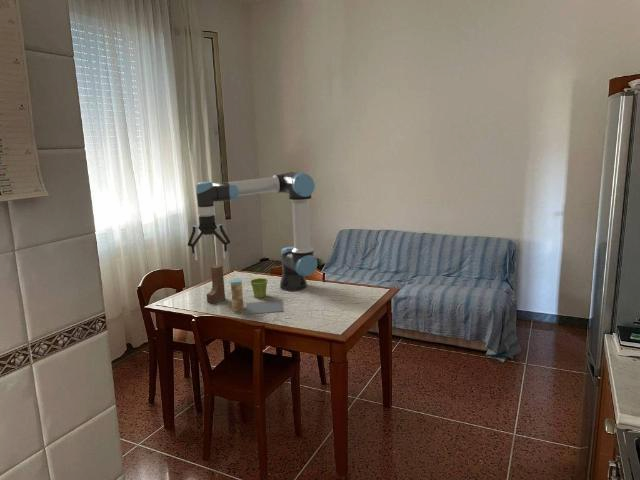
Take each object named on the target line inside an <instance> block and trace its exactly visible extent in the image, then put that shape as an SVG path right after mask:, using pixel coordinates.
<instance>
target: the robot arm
mask: <svg viewBox="0 0 640 480" xmlns="http://www.w3.org/2000/svg"><path fill="white" fill-rule="evenodd" d="M315 186H316V185H315V181H314V179H313V177H312V176H311V175H309V174H307V173H305V172H297V171H296V172H295V171H290V172H289V171H288V172H284V173H280V174H273V176H271V177H263V178H254V179H253V178H252V179H246V180H245V179H244V180H234V181H227V182H226V181H225V182H212V181H201V182H198V183H196V185H195V187H196V189H195V190H196V191H195V192H196V200H197V213H198V222H199V223H198V224H199V225H198V226H197V225H193V226H192V232H191V235H190V236H189V240H188V242H187V246H188V247H191V253H192V254H194V260H195V261H198V249H197V243H198V242H199V240H200V239H201V237H202V236H203V235H205V236H207V235H214V236H215V237H216V238H217V239H218V240H219V242H221V244H222V246H221V247H222V256H223V257H222V258H223V259H225V260H226V252H227V251H228V245H229V244H230V243H231V240H230V238H229V235H227V232H226V231H225V229H224V226H223V224H222V223H220V224H217V223H216V216H215V203H216V202H217V203H218V202H226V201H229V202H230V201H231V202H232V201H235V200H236V201H237V199H238V198H239V196H247V195H248V196H249V195H257V194H265V193H273V192H274V193H275V194H279V193H280V194H282V193H284V194H288V199H289V201H290V202H291V205H292V206H291V208H292V227H293V229H292V231H293V246H287V247H286V246H285V247H283V248H282V249H281V253H280V254H281V255H280V256H281V267H282V268H281V269H282V274H281V278H280V283H279V287H280V288H279V289H280V290H283V291H291V292H292V291H294V292H295V291H300V290H304V289H306V288H307V286H308V285H307V282H308V281H307V280H306V277H308V276H309V277H310V276H311V275H313V274H314V272H316V270H317V267H318V260H317V258H316V257H315V256H314V248H313V247H311V234H310V233H311V231H310V229H311V228H310V227H311V226H310V206H309V205H310V204H309V203H310V201H311V200H312V194H313V193H314V191H315ZM217 229H218V230H220V233H221V234H222V236H223V237H222V236H221V235H220V233H218V232H217ZM198 230H199V231H200V233H199V234H198V236H197V237H196V239H195V240H194V237H195V234H196V231H198ZM193 240H194V241H193Z"/></svg>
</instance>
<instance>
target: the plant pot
mask: <svg viewBox="0 0 640 480" xmlns="http://www.w3.org/2000/svg"><path fill="white" fill-rule="evenodd" d="M268 281H269V279H267V278H263V277H262V278H261V277H260V278H259V277H257V278H253V279H251V280H250V281H249V284H250V285H251V287H252V291H253V295H254V298H257V299H260V298H265V297H266V296H267V285H268Z"/></svg>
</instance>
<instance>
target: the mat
mask: <svg viewBox="0 0 640 480" xmlns="http://www.w3.org/2000/svg"><path fill="white" fill-rule="evenodd" d="M245 306H246V309H245V311H246V312H245V314H246V315H257V314H271V313H282V312H283V313H284V305H283V300H282V299H281V300H279V299H278V300H266V301H255V302H252V301H251V302H246V305H245Z"/></svg>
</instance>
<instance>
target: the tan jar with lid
mask: <svg viewBox="0 0 640 480" xmlns="http://www.w3.org/2000/svg"><path fill="white" fill-rule="evenodd" d="M230 291H231V292H230V294H231V301H232V303H231V304H232V312H233V313H235V312H236V313H237V312H244V307H245V306H244V297H243V283H242V278H235V279H230Z"/></svg>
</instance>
